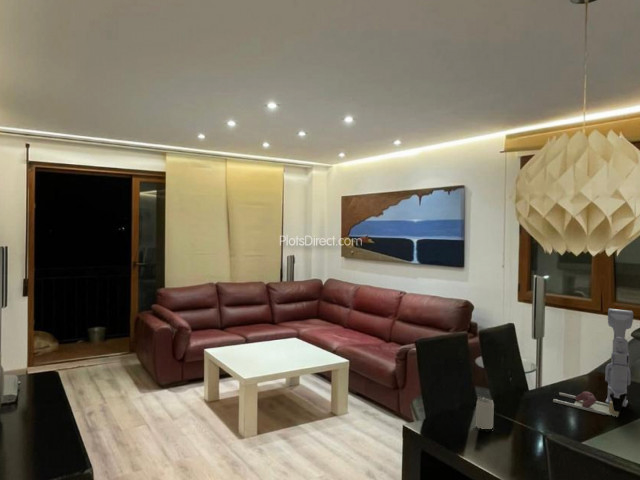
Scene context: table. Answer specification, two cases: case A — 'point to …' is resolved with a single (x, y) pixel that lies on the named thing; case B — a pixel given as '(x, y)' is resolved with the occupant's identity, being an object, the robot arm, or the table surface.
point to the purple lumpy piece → (586, 399)
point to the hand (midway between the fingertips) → (617, 409)
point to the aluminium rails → (579, 405)
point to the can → (484, 413)
